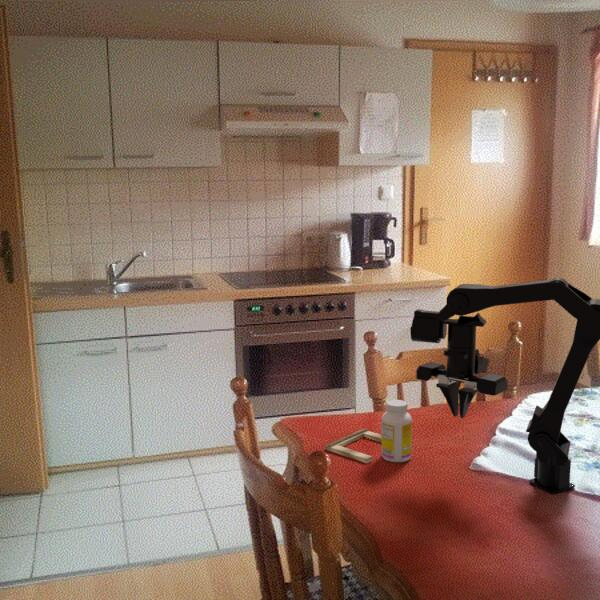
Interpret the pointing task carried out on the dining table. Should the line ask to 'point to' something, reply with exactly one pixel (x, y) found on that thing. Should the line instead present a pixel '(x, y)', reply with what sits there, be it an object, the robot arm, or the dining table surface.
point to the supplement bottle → (396, 432)
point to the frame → (339, 444)
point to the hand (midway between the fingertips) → (459, 416)
